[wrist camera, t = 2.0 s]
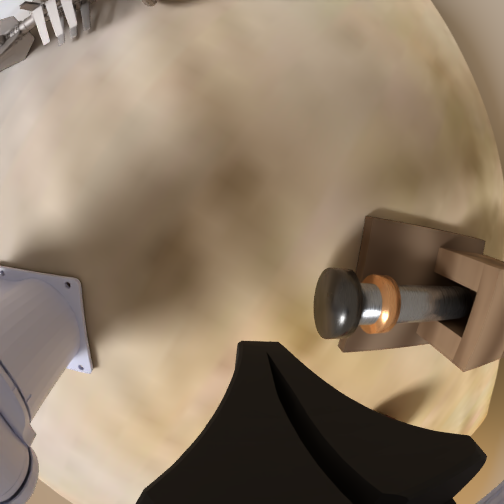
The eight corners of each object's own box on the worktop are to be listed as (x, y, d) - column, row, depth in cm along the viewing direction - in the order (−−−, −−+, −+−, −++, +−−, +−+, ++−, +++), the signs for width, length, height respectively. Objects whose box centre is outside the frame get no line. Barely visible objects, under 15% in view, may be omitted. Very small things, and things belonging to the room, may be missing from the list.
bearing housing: (338, 345, 20) (383, 407, 13) (365, 216, 18) (439, 235, 11) (452, 334, 22) (499, 369, 15) (478, 238, 20) (536, 257, 13)
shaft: (309, 319, 18) (331, 352, 14) (320, 260, 17) (349, 280, 13) (438, 316, 19) (468, 336, 15) (451, 270, 18) (484, 285, 15)
